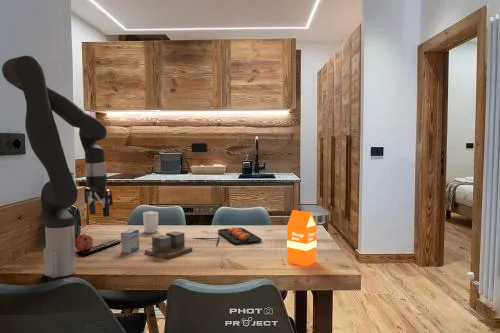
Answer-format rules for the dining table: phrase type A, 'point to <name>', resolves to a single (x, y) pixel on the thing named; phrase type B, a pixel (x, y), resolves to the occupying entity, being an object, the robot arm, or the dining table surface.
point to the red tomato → (83, 242)
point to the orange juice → (301, 238)
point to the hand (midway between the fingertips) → (99, 215)
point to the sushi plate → (236, 235)
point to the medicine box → (129, 241)
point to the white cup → (150, 221)
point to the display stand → (168, 245)
